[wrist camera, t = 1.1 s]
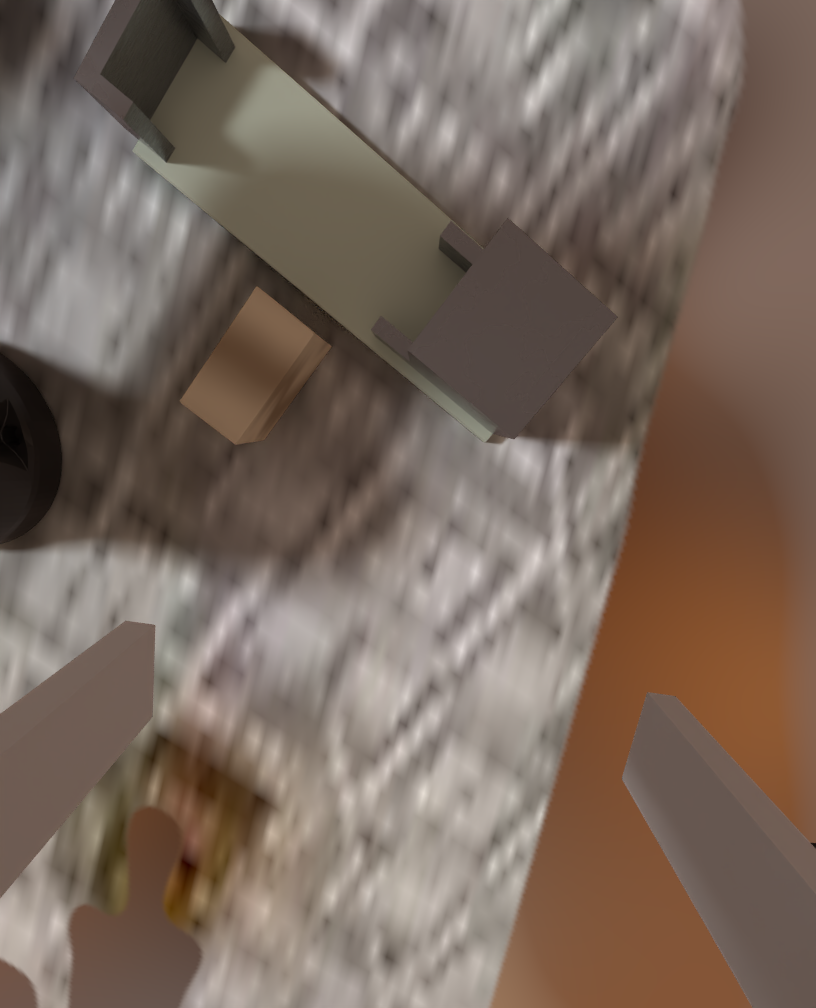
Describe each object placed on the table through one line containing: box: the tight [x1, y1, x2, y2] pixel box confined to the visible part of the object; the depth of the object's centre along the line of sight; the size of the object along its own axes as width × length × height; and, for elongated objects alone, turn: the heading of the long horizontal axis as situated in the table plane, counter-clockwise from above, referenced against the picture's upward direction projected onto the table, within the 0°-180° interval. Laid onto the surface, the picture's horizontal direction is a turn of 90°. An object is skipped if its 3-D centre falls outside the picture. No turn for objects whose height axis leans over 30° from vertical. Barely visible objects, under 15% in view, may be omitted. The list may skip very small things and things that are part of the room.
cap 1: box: [74, 0, 235, 163], centre depth 24 cm, size 3×8×4 cm, turn 142°
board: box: [133, 14, 492, 442], centre depth 28 cm, size 28×9×1 cm, turn 51°
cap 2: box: [371, 218, 617, 439], centre depth 25 cm, size 10×8×7 cm
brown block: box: [179, 286, 332, 445], centre depth 28 cm, size 8×4×5 cm, turn 141°
